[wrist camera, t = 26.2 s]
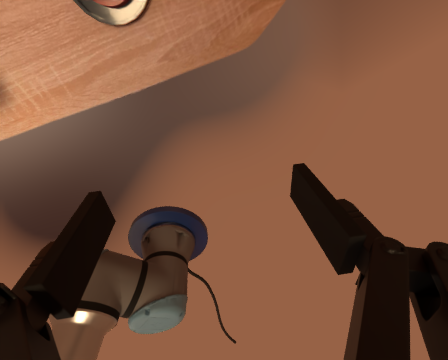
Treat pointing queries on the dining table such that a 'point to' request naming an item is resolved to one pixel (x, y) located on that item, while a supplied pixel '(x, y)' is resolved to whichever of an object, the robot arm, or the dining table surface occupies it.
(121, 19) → the saucer
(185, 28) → the dining table surface
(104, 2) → the lid
